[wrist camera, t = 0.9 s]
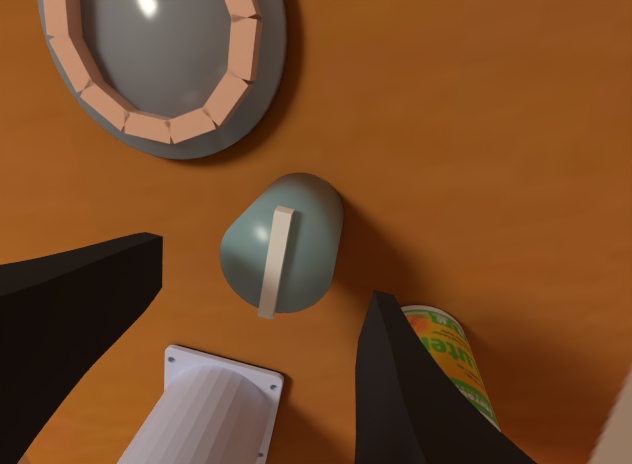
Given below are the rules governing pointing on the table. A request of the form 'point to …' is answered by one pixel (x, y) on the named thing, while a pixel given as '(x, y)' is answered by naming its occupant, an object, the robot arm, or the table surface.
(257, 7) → the socket
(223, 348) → the table surface
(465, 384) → the supplement bottle
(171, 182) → the table surface
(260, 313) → the cylinder with tan strip
